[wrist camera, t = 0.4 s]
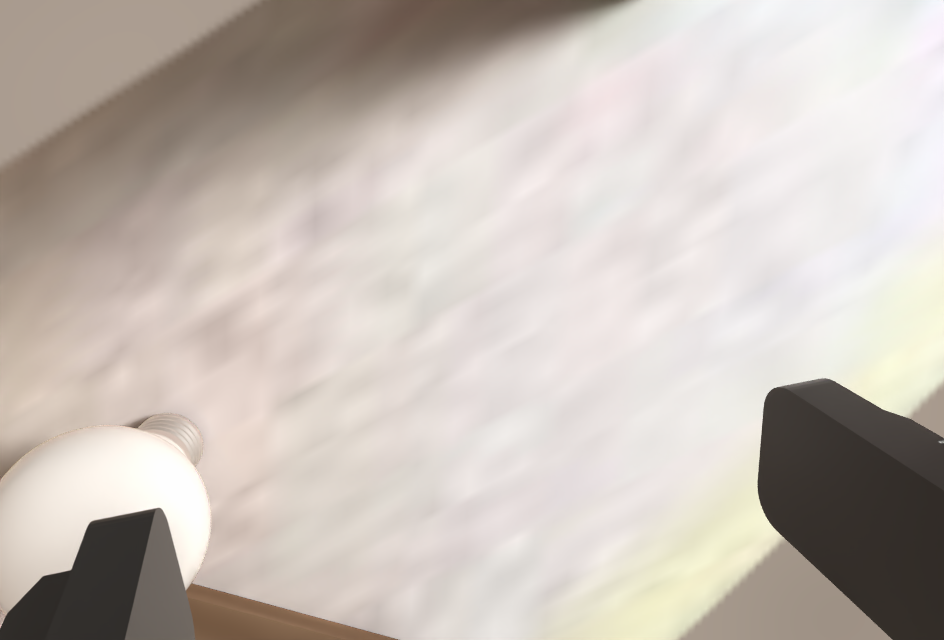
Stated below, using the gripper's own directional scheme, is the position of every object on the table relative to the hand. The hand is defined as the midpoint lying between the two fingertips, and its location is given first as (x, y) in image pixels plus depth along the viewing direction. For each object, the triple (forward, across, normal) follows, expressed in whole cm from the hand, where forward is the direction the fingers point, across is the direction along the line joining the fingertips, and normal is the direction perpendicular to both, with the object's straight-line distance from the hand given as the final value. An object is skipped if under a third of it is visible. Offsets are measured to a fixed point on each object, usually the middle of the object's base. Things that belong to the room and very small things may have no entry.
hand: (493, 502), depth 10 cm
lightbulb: (+21, +8, +9) cm, 24 cm away
